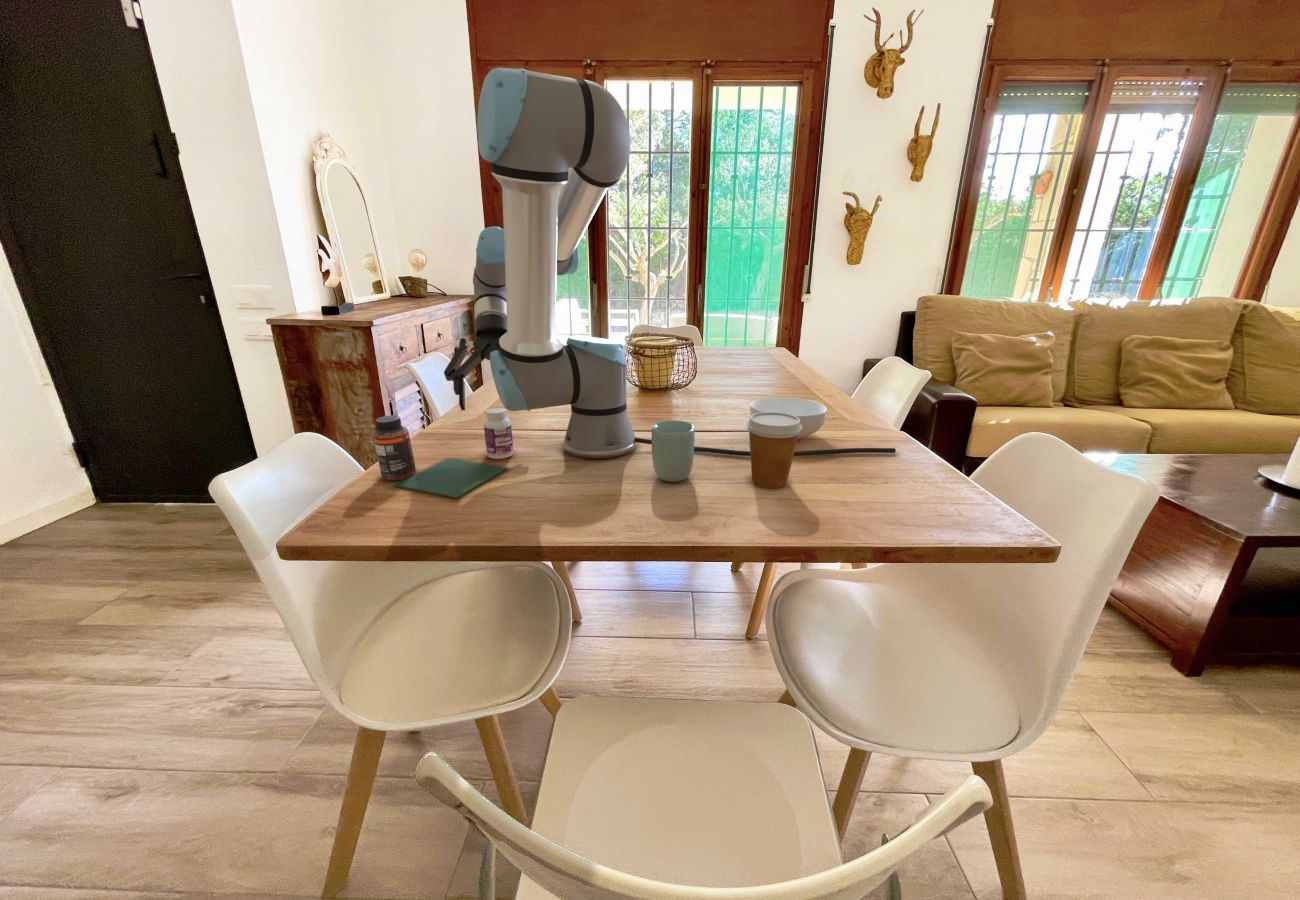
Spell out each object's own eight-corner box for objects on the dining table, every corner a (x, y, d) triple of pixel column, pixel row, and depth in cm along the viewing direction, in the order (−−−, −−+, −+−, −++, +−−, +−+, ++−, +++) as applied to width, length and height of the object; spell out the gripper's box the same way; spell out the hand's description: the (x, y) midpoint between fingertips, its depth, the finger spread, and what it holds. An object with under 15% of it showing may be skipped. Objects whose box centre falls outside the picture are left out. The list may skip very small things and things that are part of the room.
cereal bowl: (832, 431, 121) (835, 402, 119) (811, 452, 108) (815, 420, 106) (763, 419, 130) (765, 392, 127) (736, 438, 117) (738, 408, 114)
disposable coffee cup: (798, 474, 97) (804, 413, 93) (794, 495, 89) (801, 429, 84) (747, 468, 100) (751, 409, 96) (738, 488, 91) (742, 423, 87)
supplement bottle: (409, 467, 101) (399, 411, 97) (421, 475, 97) (411, 418, 93) (377, 475, 97) (365, 418, 93) (388, 485, 93) (376, 425, 89)
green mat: (507, 469, 100) (507, 467, 99) (456, 499, 87) (456, 497, 87) (449, 459, 104) (449, 457, 104) (394, 486, 92) (394, 484, 92)
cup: (693, 470, 99) (695, 420, 96) (692, 487, 92) (694, 434, 88) (653, 469, 100) (653, 419, 96) (649, 485, 93) (649, 432, 89)
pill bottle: (499, 461, 103) (494, 415, 100) (481, 456, 106) (476, 411, 103) (519, 453, 108) (515, 409, 104) (501, 448, 110) (496, 405, 107)
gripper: (549, 331, 122) (557, 410, 113) (437, 335, 116) (436, 417, 108) (548, 310, 115) (557, 392, 107) (429, 313, 110) (428, 399, 101)
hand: (496, 405), depth 107 cm, fingers open, 13 cm apart
